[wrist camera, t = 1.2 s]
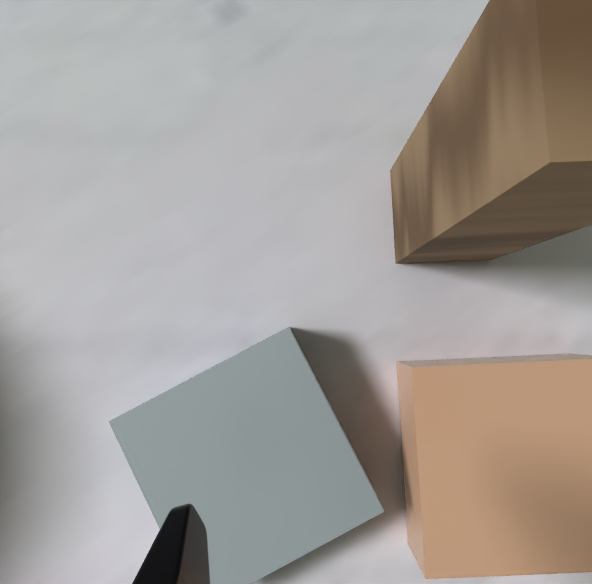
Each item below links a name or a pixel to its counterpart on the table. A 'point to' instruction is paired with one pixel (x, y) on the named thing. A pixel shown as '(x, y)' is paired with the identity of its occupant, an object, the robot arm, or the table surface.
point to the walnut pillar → (502, 139)
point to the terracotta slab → (498, 464)
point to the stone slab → (250, 460)
